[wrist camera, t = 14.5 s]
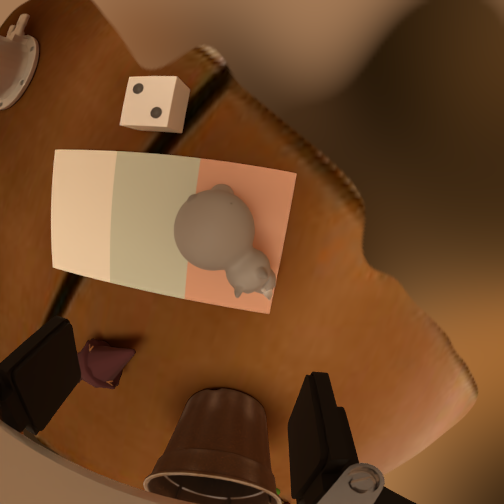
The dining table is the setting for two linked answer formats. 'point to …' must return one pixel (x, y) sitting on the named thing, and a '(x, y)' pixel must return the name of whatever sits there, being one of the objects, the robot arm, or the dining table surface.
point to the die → (155, 104)
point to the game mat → (157, 220)
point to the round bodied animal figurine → (223, 240)
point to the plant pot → (217, 453)
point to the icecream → (103, 363)
